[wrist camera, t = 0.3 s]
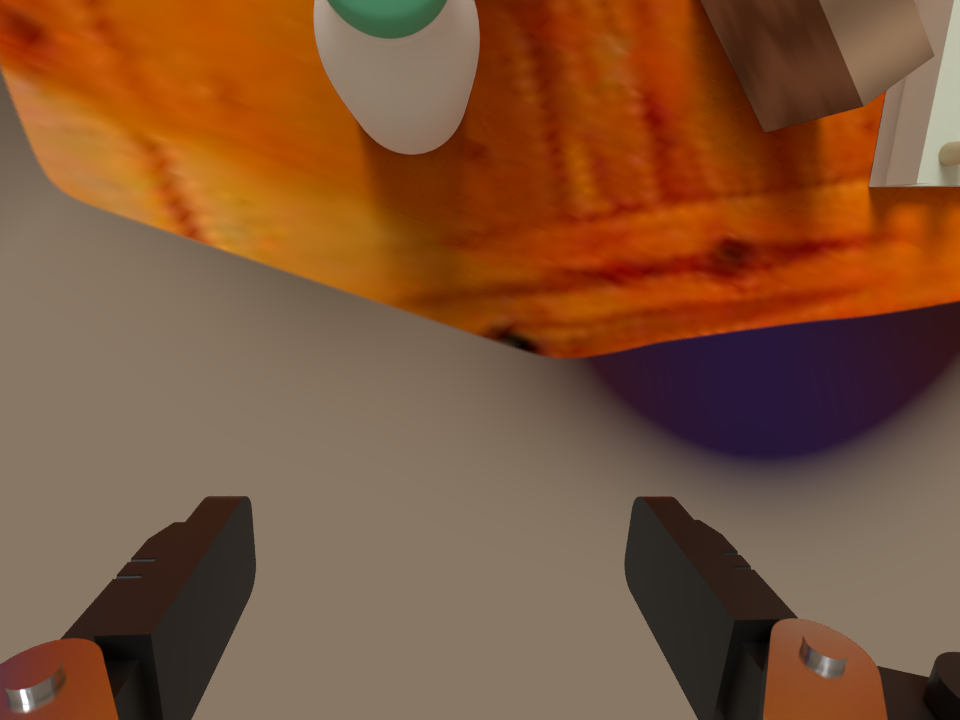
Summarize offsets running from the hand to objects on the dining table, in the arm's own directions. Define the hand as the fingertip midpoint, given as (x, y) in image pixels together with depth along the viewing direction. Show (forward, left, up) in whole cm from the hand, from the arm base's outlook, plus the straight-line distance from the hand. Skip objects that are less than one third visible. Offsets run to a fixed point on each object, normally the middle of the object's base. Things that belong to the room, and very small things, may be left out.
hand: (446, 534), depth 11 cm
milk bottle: (-15, -1, -29) cm, 33 cm away
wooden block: (-19, +23, -29) cm, 41 cm away
